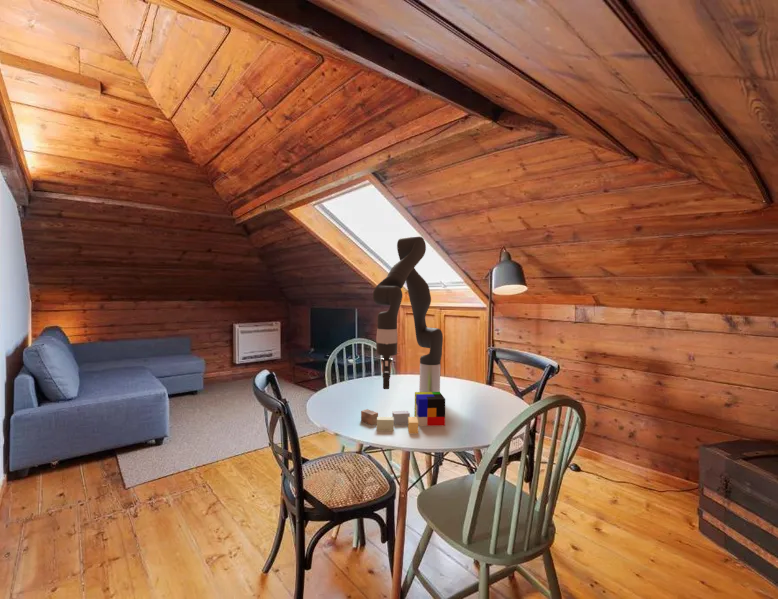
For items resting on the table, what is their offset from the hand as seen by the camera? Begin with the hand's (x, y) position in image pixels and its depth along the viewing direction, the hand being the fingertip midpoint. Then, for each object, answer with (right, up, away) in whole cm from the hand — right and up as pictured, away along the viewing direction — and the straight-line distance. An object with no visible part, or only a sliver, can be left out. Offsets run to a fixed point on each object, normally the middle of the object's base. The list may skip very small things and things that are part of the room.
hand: (386, 385), depth 142 cm
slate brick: (+6, -16, +8) cm, 18 cm away
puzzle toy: (+17, -16, +10) cm, 25 cm away
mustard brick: (+10, -16, 0) cm, 19 cm away
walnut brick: (-6, -16, +8) cm, 18 cm away
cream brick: (0, -16, +1) cm, 16 cm away
